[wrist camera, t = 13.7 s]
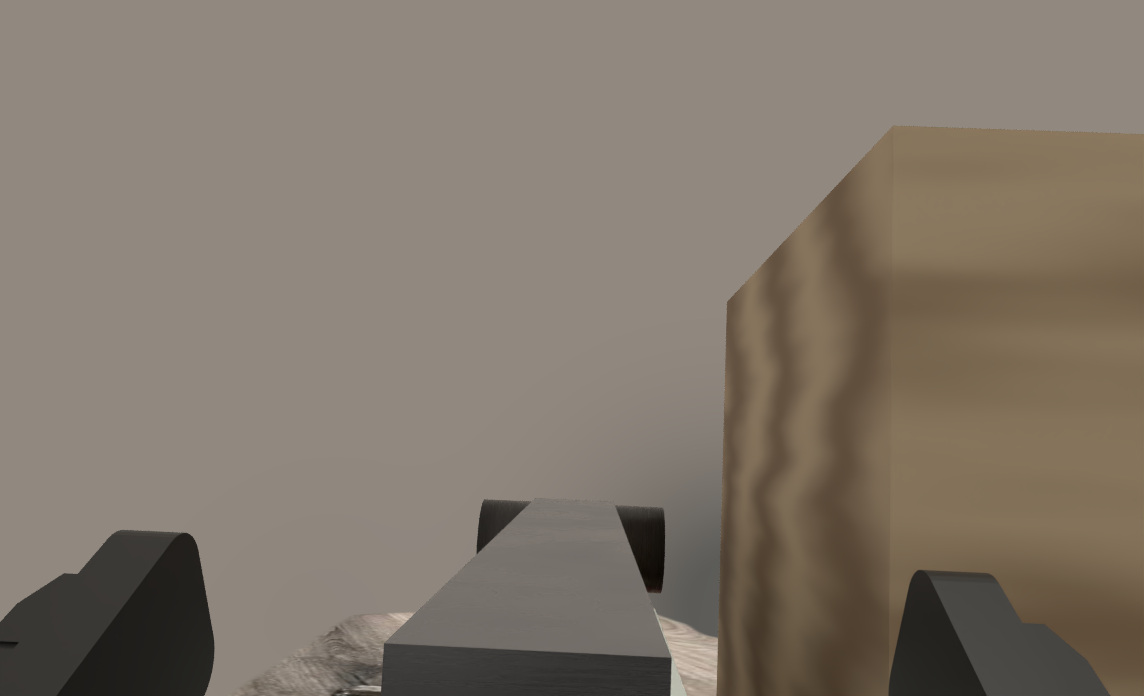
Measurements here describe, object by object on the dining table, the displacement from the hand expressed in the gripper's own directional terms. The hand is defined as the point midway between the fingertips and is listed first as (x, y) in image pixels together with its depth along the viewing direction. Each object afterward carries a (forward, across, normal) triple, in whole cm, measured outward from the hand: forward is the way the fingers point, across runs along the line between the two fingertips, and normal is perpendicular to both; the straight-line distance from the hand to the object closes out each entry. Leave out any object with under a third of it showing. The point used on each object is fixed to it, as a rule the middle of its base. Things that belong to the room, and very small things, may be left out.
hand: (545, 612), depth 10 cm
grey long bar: (+8, 0, +8) cm, 11 cm away
